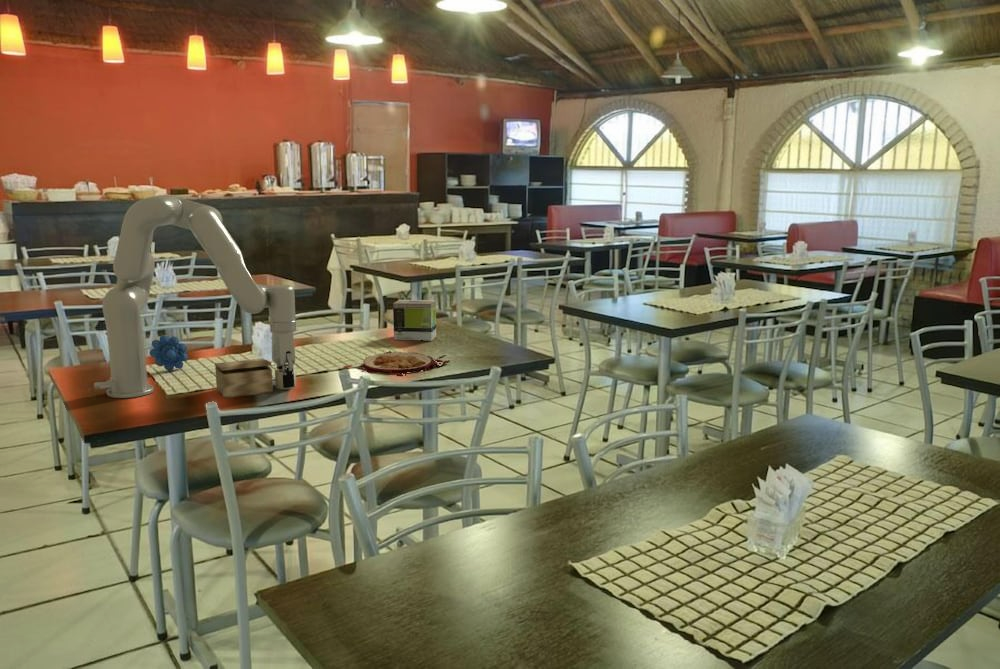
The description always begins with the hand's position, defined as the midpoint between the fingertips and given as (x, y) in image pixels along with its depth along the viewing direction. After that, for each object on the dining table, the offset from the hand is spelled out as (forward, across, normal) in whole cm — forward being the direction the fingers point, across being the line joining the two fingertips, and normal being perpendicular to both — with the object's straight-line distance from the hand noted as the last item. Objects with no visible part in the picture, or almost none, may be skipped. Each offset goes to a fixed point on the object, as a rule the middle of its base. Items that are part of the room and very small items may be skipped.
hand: (285, 383), depth 248 cm
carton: (+1, -1, -12) cm, 12 cm away
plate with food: (+2, -9, +40) cm, 41 cm away
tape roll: (+1, 0, 0) cm, 1 cm away
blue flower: (+1, -36, -28) cm, 46 cm away
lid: (-7, -1, -12) cm, 14 cm away
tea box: (+1, -48, +63) cm, 79 cm away
